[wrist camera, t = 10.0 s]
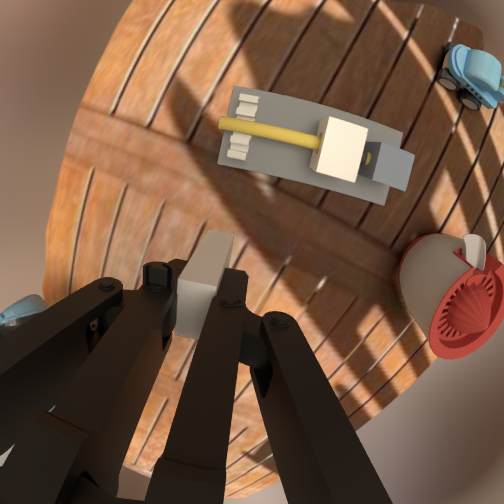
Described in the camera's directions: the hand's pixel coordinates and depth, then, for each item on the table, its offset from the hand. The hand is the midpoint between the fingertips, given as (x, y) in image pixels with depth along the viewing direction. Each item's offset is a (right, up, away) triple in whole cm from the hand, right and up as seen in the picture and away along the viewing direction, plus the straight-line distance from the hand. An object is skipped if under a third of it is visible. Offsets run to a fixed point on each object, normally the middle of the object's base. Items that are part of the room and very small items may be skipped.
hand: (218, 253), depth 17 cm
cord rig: (+11, +16, +21) cm, 29 cm away
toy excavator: (+40, +29, +14) cm, 51 cm away
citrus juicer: (+33, -1, +27) cm, 42 cm away
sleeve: (+13, +15, +20) cm, 28 cm away
